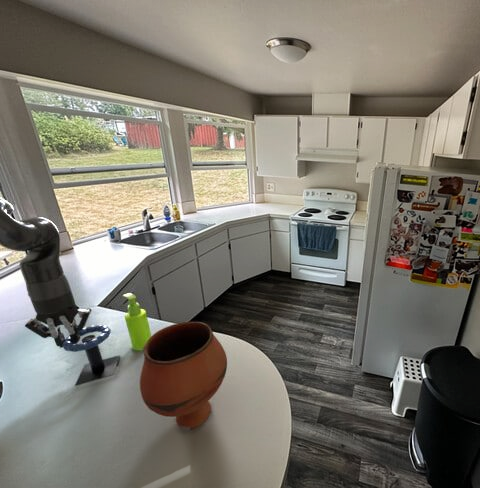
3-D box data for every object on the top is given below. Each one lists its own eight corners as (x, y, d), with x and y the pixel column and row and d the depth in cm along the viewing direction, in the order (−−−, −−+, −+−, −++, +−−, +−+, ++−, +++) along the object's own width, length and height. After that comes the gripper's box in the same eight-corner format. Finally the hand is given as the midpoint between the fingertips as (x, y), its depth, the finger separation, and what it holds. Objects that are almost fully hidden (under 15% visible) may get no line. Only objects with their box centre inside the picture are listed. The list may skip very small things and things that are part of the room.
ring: (57, 357, 68) (54, 351, 67) (71, 334, 77) (70, 329, 76) (105, 346, 73) (104, 340, 72) (114, 325, 81) (113, 320, 81)
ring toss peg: (75, 388, 73) (61, 353, 69) (85, 366, 80) (73, 333, 76) (114, 377, 77) (103, 343, 73) (120, 357, 85) (111, 325, 80)
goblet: (215, 454, 58) (202, 372, 50) (132, 453, 58) (105, 370, 50) (240, 383, 76) (233, 315, 68) (177, 383, 76) (162, 313, 68)
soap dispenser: (146, 335, 95) (135, 289, 88) (155, 342, 91) (145, 295, 85) (128, 345, 90) (115, 296, 83) (137, 352, 87) (124, 303, 80)
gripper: (89, 281, 73) (103, 330, 79) (21, 290, 67) (42, 343, 73) (79, 293, 67) (96, 345, 73) (4, 305, 61) (29, 361, 66)
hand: (69, 344), depth 73 cm, fingers closed on ring, 2 cm apart
